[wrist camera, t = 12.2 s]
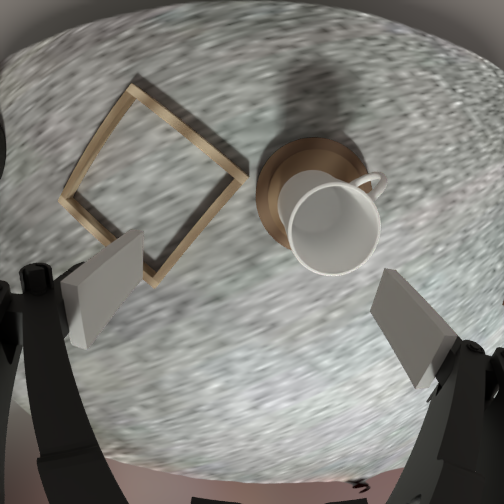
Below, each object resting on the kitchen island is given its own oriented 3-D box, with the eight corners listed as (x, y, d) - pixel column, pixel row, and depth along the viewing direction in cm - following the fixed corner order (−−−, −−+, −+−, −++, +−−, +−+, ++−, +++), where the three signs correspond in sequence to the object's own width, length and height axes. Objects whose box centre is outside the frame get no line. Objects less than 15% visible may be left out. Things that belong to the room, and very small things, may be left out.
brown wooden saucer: (232, 198, 38) (229, 203, 35) (310, 114, 34) (314, 111, 31) (313, 270, 41) (317, 280, 38) (387, 194, 37) (397, 198, 34)
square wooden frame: (65, 198, 39) (57, 201, 37) (137, 85, 33) (131, 83, 31) (159, 283, 42) (154, 289, 41) (249, 176, 37) (248, 177, 35)
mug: (347, 144, 32) (387, 141, 21) (378, 204, 34) (425, 229, 23) (263, 193, 34) (264, 213, 23) (300, 251, 37) (315, 296, 25)
